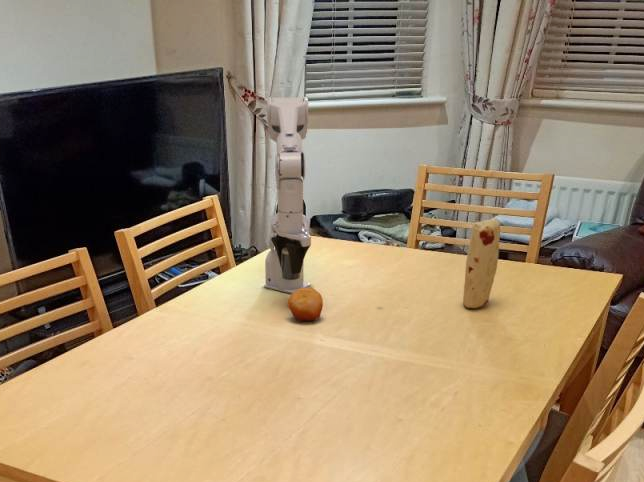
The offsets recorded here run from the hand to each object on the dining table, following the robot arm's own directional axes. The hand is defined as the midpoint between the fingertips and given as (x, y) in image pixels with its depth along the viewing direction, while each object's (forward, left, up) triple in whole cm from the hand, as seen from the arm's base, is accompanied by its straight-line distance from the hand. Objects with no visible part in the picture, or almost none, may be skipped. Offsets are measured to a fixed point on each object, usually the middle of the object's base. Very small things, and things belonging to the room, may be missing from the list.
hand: (290, 270), depth 179 cm
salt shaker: (0, 0, -2) cm, 2 cm away
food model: (+36, +26, -9) cm, 46 cm away
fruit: (+7, -5, -9) cm, 13 cm away
